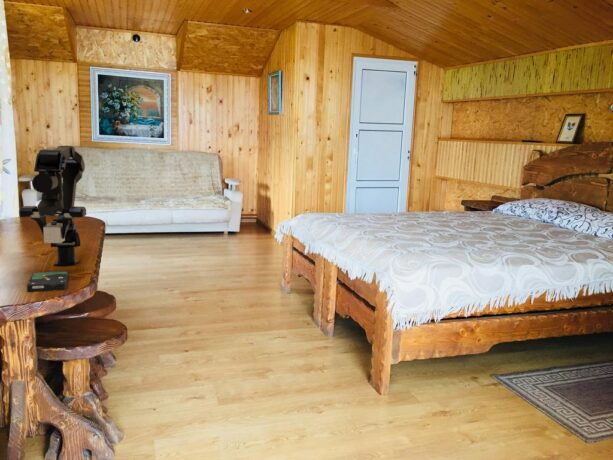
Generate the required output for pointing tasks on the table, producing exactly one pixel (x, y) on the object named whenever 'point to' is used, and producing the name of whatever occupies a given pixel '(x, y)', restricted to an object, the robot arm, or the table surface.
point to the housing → (53, 233)
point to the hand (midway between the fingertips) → (54, 238)
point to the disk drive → (48, 281)
